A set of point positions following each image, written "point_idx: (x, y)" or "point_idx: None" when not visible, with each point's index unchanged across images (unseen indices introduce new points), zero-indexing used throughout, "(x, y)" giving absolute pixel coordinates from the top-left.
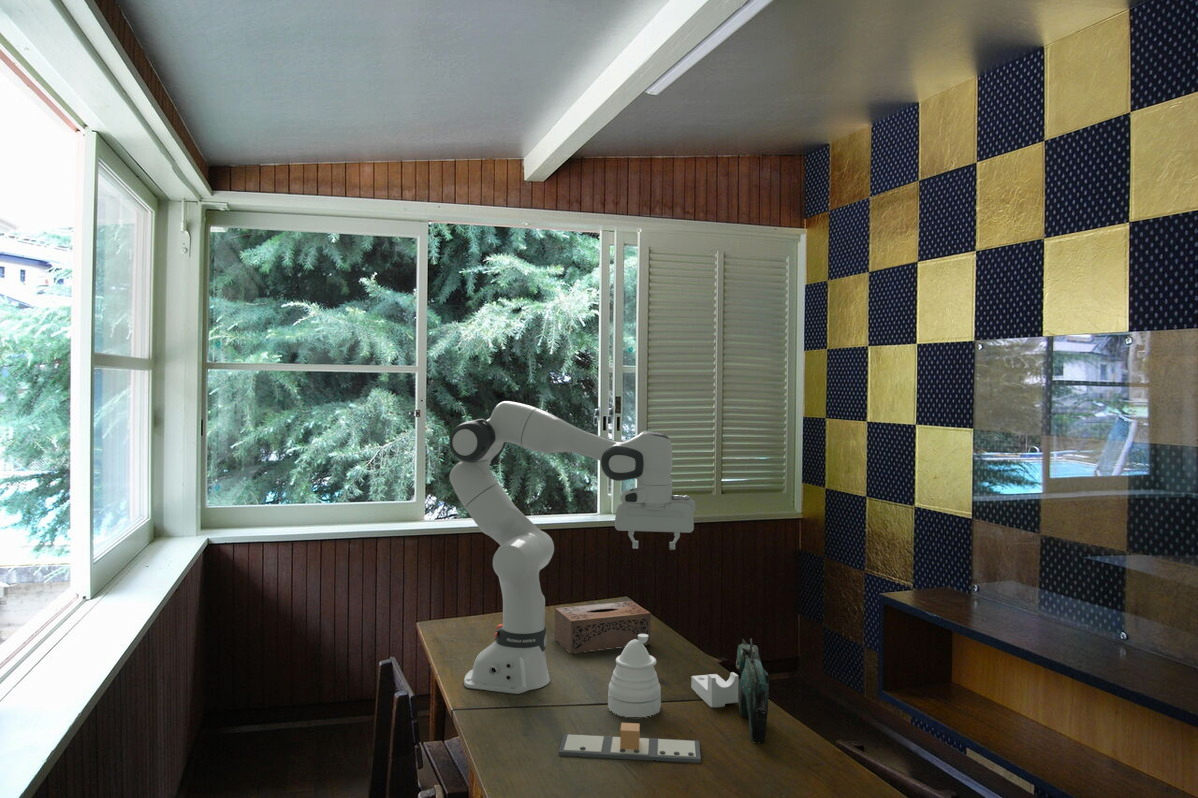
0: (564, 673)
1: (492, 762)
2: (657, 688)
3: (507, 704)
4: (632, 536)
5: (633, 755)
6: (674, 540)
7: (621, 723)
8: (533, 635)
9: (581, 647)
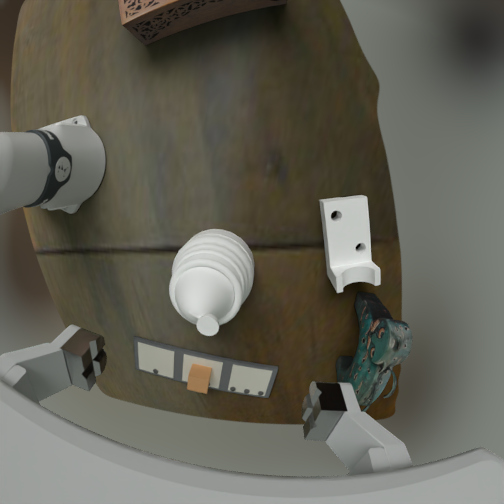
0: (126, 128)
1: None
2: (244, 299)
3: (69, 243)
4: (38, 386)
5: None
6: (338, 455)
7: (188, 377)
8: (39, 202)
9: (160, 34)
